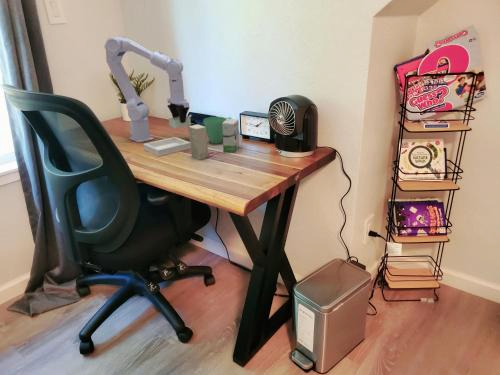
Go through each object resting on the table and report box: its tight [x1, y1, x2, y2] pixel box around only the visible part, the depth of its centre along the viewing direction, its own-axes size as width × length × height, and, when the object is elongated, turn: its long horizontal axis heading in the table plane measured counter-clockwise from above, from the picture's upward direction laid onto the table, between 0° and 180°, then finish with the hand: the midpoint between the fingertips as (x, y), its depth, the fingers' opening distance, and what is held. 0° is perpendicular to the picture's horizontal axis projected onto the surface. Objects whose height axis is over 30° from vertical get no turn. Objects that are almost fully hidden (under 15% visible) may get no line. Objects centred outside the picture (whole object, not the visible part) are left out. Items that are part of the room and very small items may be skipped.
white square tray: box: [143, 136, 191, 157], centre depth 162 cm, size 12×15×2 cm
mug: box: [203, 116, 233, 145], centre depth 170 cm, size 15×10×10 cm
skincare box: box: [188, 124, 209, 161], centre depth 150 cm, size 6×4×12 cm
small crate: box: [168, 116, 192, 129], centre depth 172 cm, size 5×8×4 cm, turn 131°
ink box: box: [222, 118, 240, 153], centre depth 158 cm, size 9×5×12 cm, turn 168°
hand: (179, 121), depth 172 cm, fingers closed on small crate, 5 cm apart
